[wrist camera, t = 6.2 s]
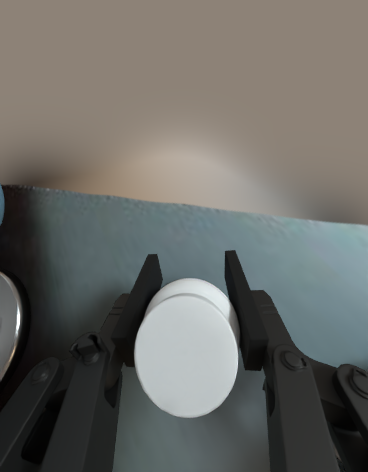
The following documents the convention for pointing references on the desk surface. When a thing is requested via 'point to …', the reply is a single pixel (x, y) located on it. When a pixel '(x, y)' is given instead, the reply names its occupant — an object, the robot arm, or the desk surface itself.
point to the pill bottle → (188, 348)
